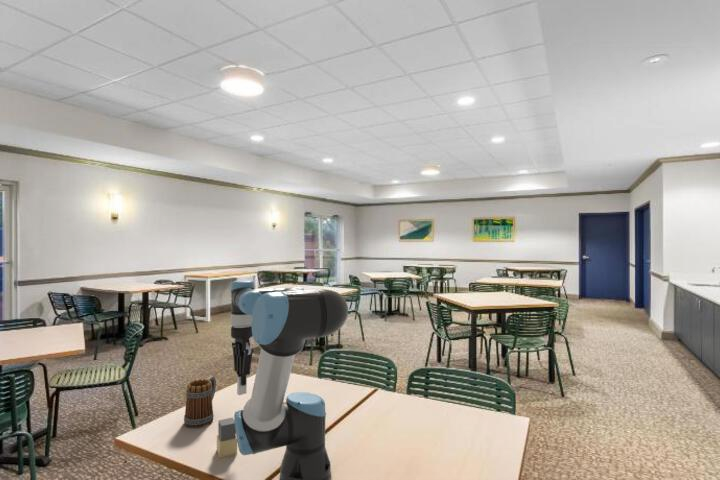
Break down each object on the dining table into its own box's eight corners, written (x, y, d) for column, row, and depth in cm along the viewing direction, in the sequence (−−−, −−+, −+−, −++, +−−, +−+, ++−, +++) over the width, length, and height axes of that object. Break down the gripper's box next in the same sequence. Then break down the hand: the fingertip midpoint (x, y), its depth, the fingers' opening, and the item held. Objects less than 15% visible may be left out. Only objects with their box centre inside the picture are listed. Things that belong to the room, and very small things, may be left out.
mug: (203, 429, 147) (203, 389, 147) (177, 426, 149) (178, 386, 149) (225, 411, 162) (226, 375, 162) (202, 409, 164) (202, 373, 164)
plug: (237, 453, 131) (237, 423, 131) (219, 457, 128) (220, 426, 128) (233, 446, 135) (233, 416, 135) (216, 450, 133) (217, 420, 133)
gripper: (260, 327, 135) (260, 397, 135) (245, 320, 145) (244, 385, 145) (239, 330, 130) (238, 402, 130) (224, 323, 140) (224, 390, 140)
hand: (241, 393), depth 137 cm, fingers closed
